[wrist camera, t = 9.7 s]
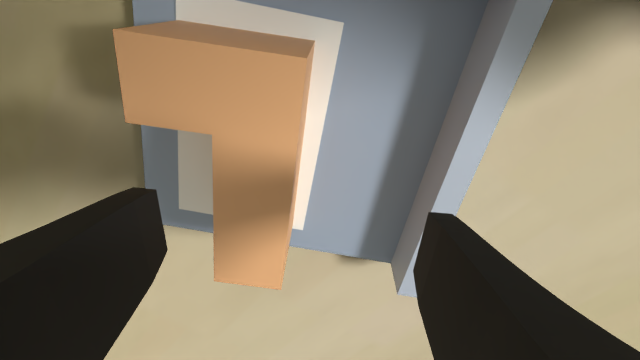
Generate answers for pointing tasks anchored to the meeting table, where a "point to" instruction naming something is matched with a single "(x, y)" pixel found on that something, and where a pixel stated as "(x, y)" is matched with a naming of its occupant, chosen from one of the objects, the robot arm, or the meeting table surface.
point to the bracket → (229, 127)
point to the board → (333, 113)
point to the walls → (470, 120)
